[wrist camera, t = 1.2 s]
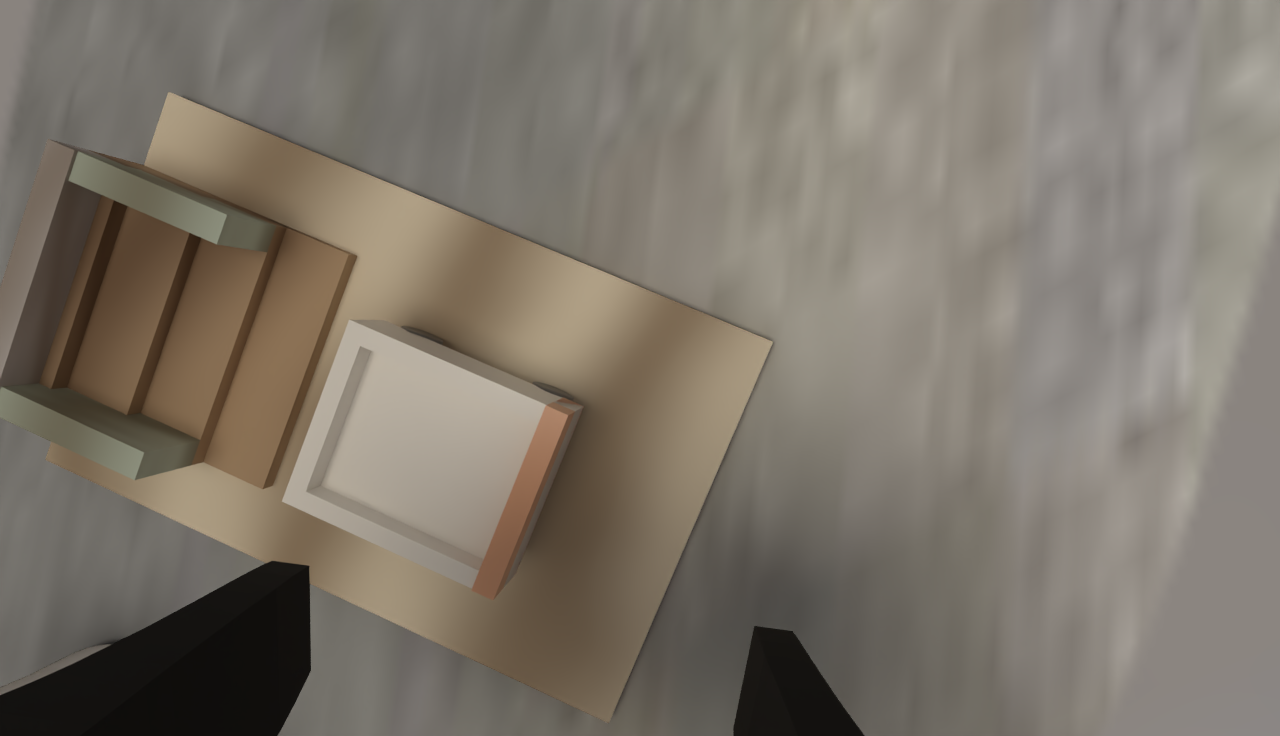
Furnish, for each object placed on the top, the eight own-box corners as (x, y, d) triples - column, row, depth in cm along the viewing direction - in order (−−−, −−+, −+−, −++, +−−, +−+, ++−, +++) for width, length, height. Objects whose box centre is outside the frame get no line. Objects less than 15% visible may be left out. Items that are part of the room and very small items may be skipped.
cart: (591, 402, 21) (568, 415, 18) (525, 562, 21) (493, 600, 18) (399, 320, 21) (347, 319, 18) (340, 478, 22) (279, 502, 19)
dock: (772, 341, 21) (781, 344, 17) (611, 714, 22) (588, 791, 19) (180, 96, 23) (75, 52, 19) (59, 456, 24) (-62, 480, 20)
